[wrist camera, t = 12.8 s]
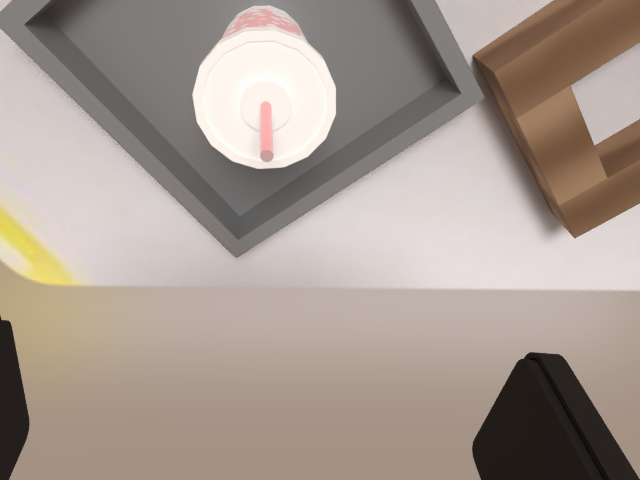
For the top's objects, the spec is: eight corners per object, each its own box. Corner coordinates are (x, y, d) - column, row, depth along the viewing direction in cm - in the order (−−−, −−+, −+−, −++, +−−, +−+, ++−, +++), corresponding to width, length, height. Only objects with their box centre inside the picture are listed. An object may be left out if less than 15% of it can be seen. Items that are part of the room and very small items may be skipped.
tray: (465, 78, 32) (484, 97, 30) (238, 228, 37) (236, 258, 34) (292, -250, 23) (297, -268, 20) (19, 5, 28) (-9, 19, 25)
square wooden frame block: (746, 102, 35) (789, 122, 32) (551, 211, 39) (574, 238, 36) (707, -103, 28) (758, -101, 25) (472, 54, 32) (494, 72, 29)
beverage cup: (274, -36, 27) (283, 26, 16) (339, 60, 30) (386, 170, 19) (186, 36, 29) (137, 140, 17) (256, 120, 32) (253, 256, 21)
